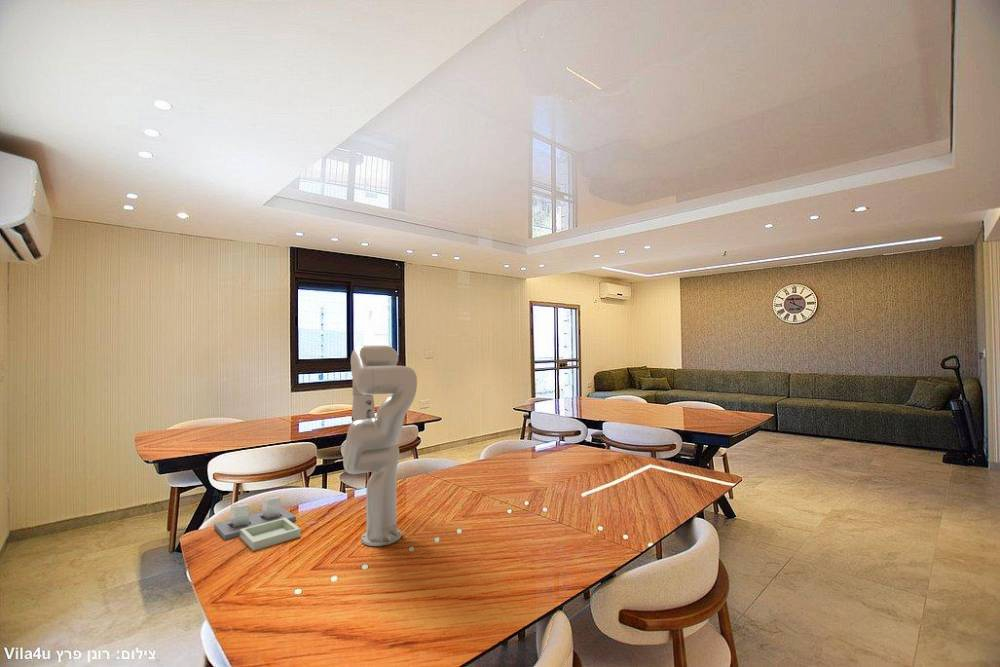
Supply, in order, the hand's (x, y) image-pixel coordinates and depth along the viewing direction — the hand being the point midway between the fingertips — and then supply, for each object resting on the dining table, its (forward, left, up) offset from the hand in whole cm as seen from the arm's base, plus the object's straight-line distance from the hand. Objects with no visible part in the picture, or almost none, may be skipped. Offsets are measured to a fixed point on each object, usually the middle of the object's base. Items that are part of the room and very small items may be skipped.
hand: (362, 435), depth 170 cm
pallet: (+12, +34, -28) cm, 46 cm away
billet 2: (+12, +29, -28) cm, 42 cm away
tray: (-3, +34, -28) cm, 44 cm away
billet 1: (+12, +39, -28) cm, 50 cm away
